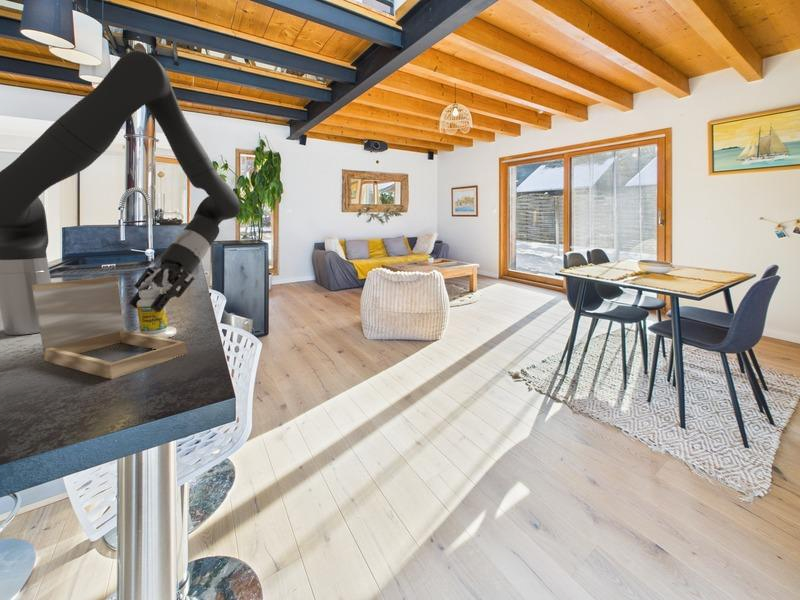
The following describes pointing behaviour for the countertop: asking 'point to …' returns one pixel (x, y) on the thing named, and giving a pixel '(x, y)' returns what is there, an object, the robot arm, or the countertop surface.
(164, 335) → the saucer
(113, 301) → the cold frame
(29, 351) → the countertop surface
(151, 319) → the supplement bottle
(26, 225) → the robot arm
